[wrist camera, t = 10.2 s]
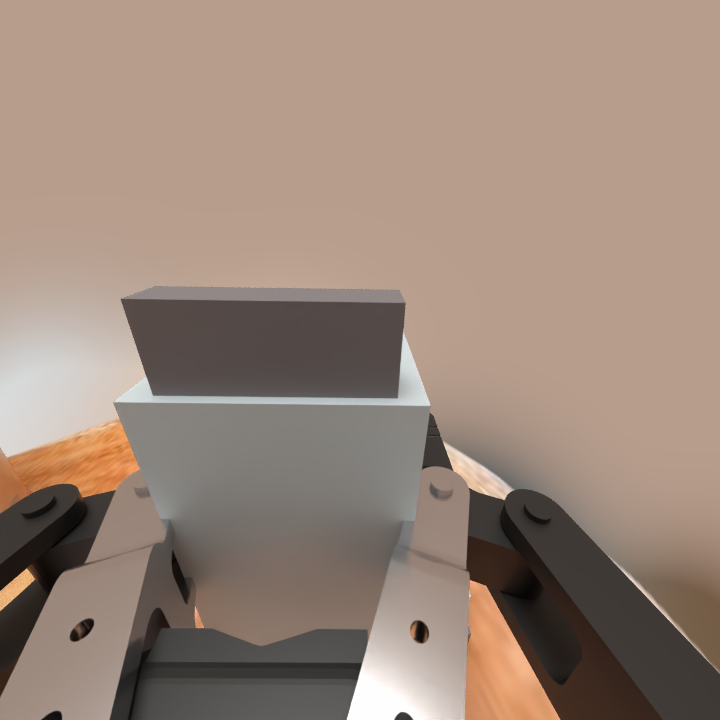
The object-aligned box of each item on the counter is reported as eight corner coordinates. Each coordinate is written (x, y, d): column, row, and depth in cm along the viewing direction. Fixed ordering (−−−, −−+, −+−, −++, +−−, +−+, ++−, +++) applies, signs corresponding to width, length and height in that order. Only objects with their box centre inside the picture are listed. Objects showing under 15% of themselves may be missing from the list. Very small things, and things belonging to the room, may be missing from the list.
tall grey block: (225, 681, 9) (72, 302, 4) (280, 490, 15) (246, 247, 10) (392, 681, 9) (444, 307, 4) (378, 490, 15) (393, 249, 10)
